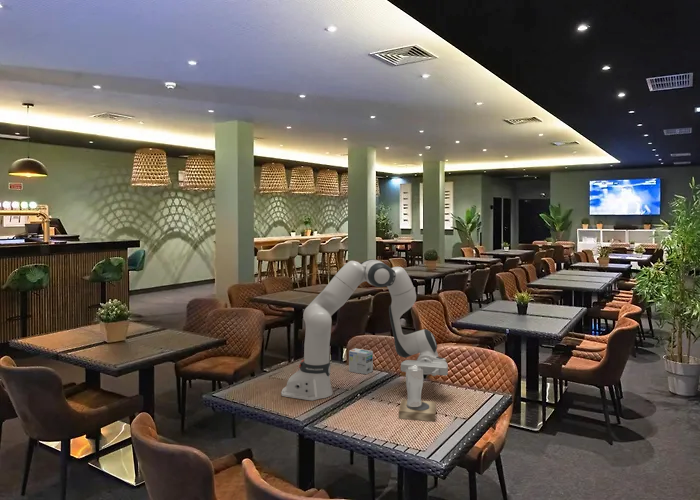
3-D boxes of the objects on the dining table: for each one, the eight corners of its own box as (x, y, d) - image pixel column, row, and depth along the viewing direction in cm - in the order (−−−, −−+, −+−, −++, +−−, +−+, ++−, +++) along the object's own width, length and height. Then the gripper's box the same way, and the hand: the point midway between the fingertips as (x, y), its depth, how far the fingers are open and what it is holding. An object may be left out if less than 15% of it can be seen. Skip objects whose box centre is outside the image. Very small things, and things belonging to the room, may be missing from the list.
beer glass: (422, 408, 200) (422, 371, 199) (404, 407, 202) (404, 370, 201) (423, 402, 207) (424, 366, 206) (406, 401, 209) (406, 365, 208)
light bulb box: (373, 371, 259) (373, 350, 258) (366, 375, 253) (366, 353, 252) (355, 368, 265) (355, 347, 264) (348, 371, 259) (348, 350, 258)
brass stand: (398, 418, 199) (398, 410, 199) (401, 406, 212) (401, 398, 212) (435, 421, 197) (435, 413, 196) (435, 409, 209) (435, 401, 209)
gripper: (403, 355, 230) (397, 363, 217) (449, 358, 225) (446, 367, 212) (402, 368, 231) (397, 378, 217) (449, 372, 225) (446, 382, 212)
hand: (422, 373), depth 214 cm, fingers open, 8 cm apart
